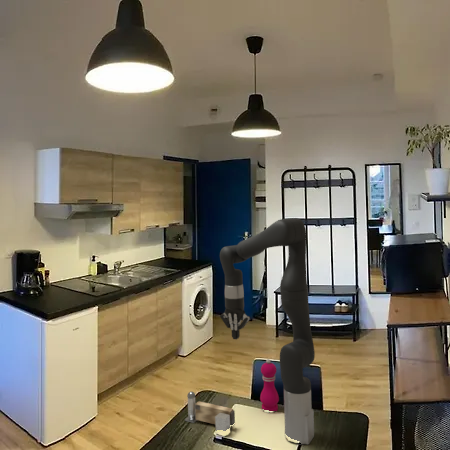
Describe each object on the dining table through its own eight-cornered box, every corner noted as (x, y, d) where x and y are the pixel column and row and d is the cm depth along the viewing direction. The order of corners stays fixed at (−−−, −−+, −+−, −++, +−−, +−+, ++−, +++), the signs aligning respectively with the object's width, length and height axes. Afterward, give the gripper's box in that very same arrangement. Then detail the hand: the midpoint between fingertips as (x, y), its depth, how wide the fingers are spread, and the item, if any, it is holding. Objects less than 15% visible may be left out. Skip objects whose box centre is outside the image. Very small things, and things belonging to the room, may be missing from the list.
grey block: (230, 432, 155) (230, 414, 154) (225, 437, 151) (225, 419, 151) (221, 429, 157) (220, 411, 156) (215, 434, 153) (215, 416, 153)
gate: (195, 419, 162) (194, 404, 162) (199, 416, 165) (198, 401, 164) (231, 428, 155) (231, 412, 155) (235, 425, 157) (234, 408, 157)
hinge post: (199, 418, 165) (198, 390, 165) (193, 423, 162) (192, 395, 161) (190, 415, 167) (189, 388, 167) (184, 420, 164) (183, 392, 163)
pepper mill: (278, 414, 166) (276, 363, 165) (259, 413, 168) (257, 362, 166) (279, 405, 173) (278, 356, 172) (261, 404, 175) (260, 355, 174)
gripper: (253, 295, 173) (254, 338, 174) (224, 292, 179) (225, 334, 180) (244, 299, 166) (246, 343, 167) (215, 296, 173) (216, 339, 174)
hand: (235, 338), depth 174 cm, fingers closed
